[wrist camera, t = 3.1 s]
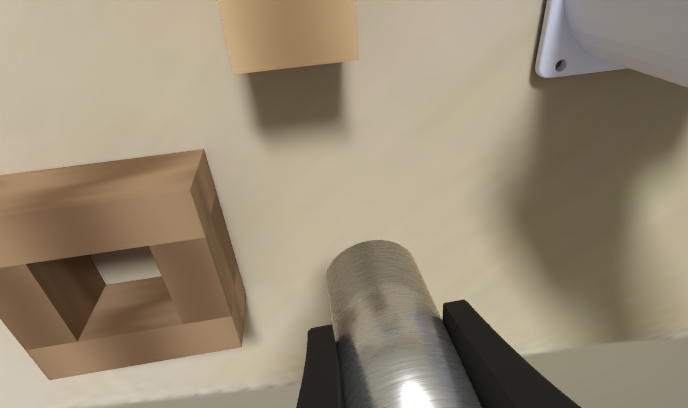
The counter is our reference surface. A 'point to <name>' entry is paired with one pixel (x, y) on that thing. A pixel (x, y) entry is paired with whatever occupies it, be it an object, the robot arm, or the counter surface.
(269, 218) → the counter surface
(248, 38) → the oak block
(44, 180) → the bored block
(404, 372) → the pin
